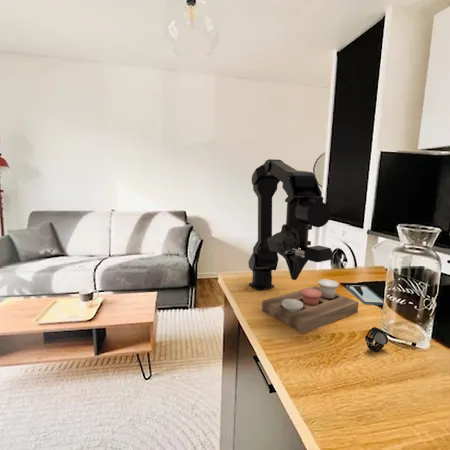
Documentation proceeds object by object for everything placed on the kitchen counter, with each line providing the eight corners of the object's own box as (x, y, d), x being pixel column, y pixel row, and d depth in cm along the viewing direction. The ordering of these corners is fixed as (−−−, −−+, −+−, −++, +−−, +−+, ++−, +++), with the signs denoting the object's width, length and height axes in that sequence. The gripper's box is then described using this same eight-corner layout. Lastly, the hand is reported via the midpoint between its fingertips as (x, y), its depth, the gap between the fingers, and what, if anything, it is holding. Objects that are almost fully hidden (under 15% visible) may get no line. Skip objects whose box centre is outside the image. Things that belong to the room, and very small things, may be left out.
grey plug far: (313, 294, 89) (314, 281, 89) (325, 290, 92) (326, 278, 92) (329, 300, 85) (330, 287, 84) (341, 296, 88) (342, 283, 87)
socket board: (261, 310, 84) (262, 300, 84) (315, 294, 97) (315, 285, 97) (303, 333, 72) (303, 322, 72) (357, 311, 85) (358, 301, 85)
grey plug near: (276, 315, 81) (277, 301, 81) (291, 310, 84) (291, 297, 84) (292, 323, 77) (292, 309, 76) (306, 318, 80) (307, 304, 79)
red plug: (296, 304, 85) (296, 290, 85) (309, 299, 88) (309, 287, 88) (311, 311, 81) (312, 297, 80) (324, 306, 84) (325, 293, 83)
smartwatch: (389, 354, 65) (392, 332, 64) (368, 355, 64) (370, 333, 63) (377, 343, 69) (379, 323, 68) (356, 345, 68) (358, 324, 67)
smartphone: (364, 303, 90) (345, 285, 105) (364, 306, 91) (344, 287, 105) (388, 304, 90) (365, 285, 105) (388, 307, 91) (365, 288, 105)
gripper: (250, 218, 80) (248, 274, 82) (304, 228, 64) (300, 297, 67) (280, 216, 86) (277, 268, 88) (336, 225, 71) (331, 288, 73)
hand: (294, 279), depth 79 cm, fingers closed
